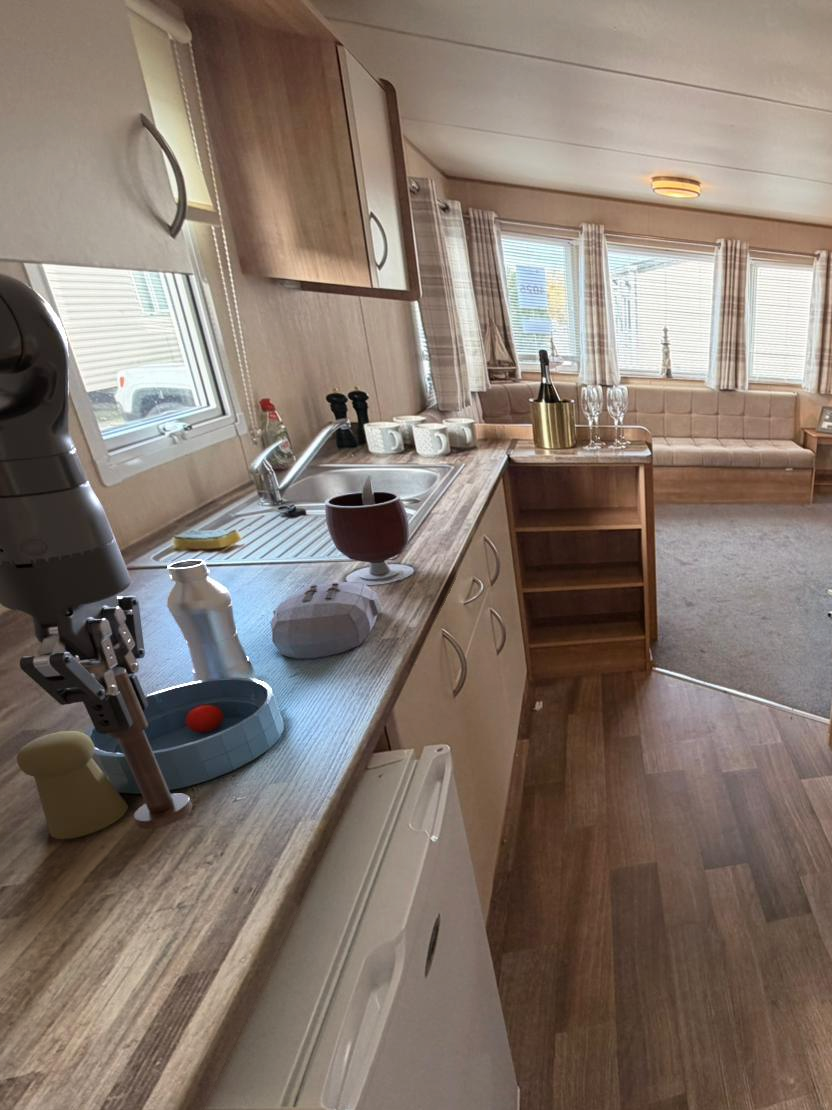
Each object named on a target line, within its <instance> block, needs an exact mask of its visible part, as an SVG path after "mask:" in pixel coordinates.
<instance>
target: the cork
mask: <svg viewBox="0 0 832 1110" xmlns="http://www.w3.org/2000/svg"><path fill="white" fill-rule="evenodd" d="M93 754H94V744H93V742H92V740H91V739H90V738H89V737H88V736H87V735H86V734H85V732H81V731H78V730H63V731H57V732H52V733H48V734H46V735H45V734H44V735H41V736H40V737H37V738H35V739H33V740H31V741H30V742H28V743H26V744H25V745H24V746H22V747H21V748H20V750H19V751H18V754H17V756H16V763H17V765H18V767H19V769H20V770H21V771H22V772H23V774H25V775H27V776H30V777H33V778H34V781H35V784H36V788H37V793H38V796H39V800H40V803H41V806H42V810H43V813H44V817H45V822H46V825H47V829H48V832H49V835H50V836H51V837H52V838H54V839H57V840H69V839H75V838H80V837H84V836H86V835H87V836H88V835H91V834H93V833H95V832H98V831H100V830H103V829H104V828H107V827H108V826H110V825H112V824H115V822H116V821H118V820H120V819H122V817H123V816H124V815H125V814H126V813H127V811H128V808H129V805H128V803H127V802H126V801H125V799H124V798H123V797H122V796H121V794H120V792H117V790H116V789H115V788H114V786H113V785H112V784H111V782H110V781H109V780H108V779H107V777H106V776H105V775H104V773H103V772H102V771H101V769H100V768H99V767H98V765H97V764H96V763H95V762H94V760H93V759H92V756H93Z"/></svg>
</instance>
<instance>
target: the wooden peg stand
mask: <svg viewBox="0 0 832 1110" xmlns="http://www.w3.org/2000/svg"><path fill="white" fill-rule="evenodd" d="M112 671H113V674H114V677H115V680H116V683H117V687H118V691H120V693H121V695H122V698H123V700H124V702H125V705H126V707H127V709H128V712H129V714H130V716H131V719H132V721H133V724H132V725H131V727H130V728H129V729H128V730H126V731H122V732H115V733H108V735H109V736H110V737H111V738H117V739H118V742H119V744H120V746H121V749H122V751H123V753H124V755H125V758H126V760H127V762H128V764H129V767H130V769H131V771H132V774H133V776H134V778H135V780H136V783H137V785H138V787H139V789H140V792H141V794H140V795H141V796H142V799H143V801H144V803H143V804H142V805H141V806H140V807H138V808H137V809H136V810H135V811H134V813H133V820H134V822H135V824H136V826H137V827H138V828H139V829H142V830H155V829H158V828H163V827H166V826H169V825H171V824H174V823H177V821H180V820H182V819H183V818H184V817H185V816H187V815H188V814H189V813H190V812H191V810H192V808H193V804H192V800H191V799H190V796H189V795H187V794H185V793H181V792H180V793H171V790H169V789H168V786H167V784H166V782H165V779H164V777H163V774H162V772H161V770H160V767H159V765H158V762H157V760H156V758H155V755H154V753H153V750H152V748H151V746H150V743H149V741H148V738H147V736H146V734H145V731H144V730H145V729H146V728H147V727H148V723H147V720H146V718H145V715H144V713H143V710H142V708H141V706H140V703H139V701H138V698H137V696H136V694H135V691H134V689H133V686H132V684H131V681H130V679H129V677H128V674H127V672H126V669H124V668H122V667H114V668H113V669H112ZM91 675H92V676H93V677H94V678H95V679H96V680H97V681H98V682H99V683H100V681H99V678H98V676H97V675H96V674H94V673H91Z"/></svg>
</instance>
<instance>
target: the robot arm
mask: <svg viewBox="0 0 832 1110" xmlns="http://www.w3.org/2000/svg"><path fill="white" fill-rule="evenodd" d="M131 583H132V579H131V576H130V573H129V570H128V568H127V566H126V563H125V560H124V557H123V555H122V553H121V550H120V547H119V545H118V541H117V539H116V537H115V534H114V532H113V529H112V527H111V524H110V521H109V519H108V516H107V514H106V511H105V509H104V507H103V505H102V503H101V502H100V499H99V498H98V496H97V495H96V493H95V491H94V489H93V488H92V485H91V483H90V482H89V479H88V476H87V474H86V471H85V469H84V466H83V463H82V460H81V458H80V455H79V452H78V450H77V449H76V445H75V443H74V440H73V438H72V435H71V430H70V395H69V346H68V341H67V336H66V333H65V330H64V327H63V326H62V323H61V320H60V318H59V317H58V316H57V314H56V312H55V311H54V310H53V308H52V307H51V305H50V304H49V303H48V302H47V301H46V300H45V299H44V298H43V297H42V296H41V295H40V294H39V293H38V292H37V291H35V290H34V289H33V288H32V287H31V286H29V285H28V284H26V283H24V282H22V280H20V279H18V278H15V277H13V276H10V275H8V274H6V273H2V272H0V605H1V606H2V607H4V608H7V609H9V610H12V611H19V612H22V613H25V614H28V615H30V616H31V617H32V622H33V628H34V636H35V638H36V640H37V641H38V642H39V643H40V645H39V646H40V647H39V649H38V651H37V654H35V655H26V656H25V655H24V656H22V657H21V658H20V660H19V667H20V669H21V671H23V672H24V673H25V674H26V675H27V676H28V677H30V678H31V679H32V680H33V682H35V683H36V684H37V685H38V686H39V687H40V688H41V689H43V690H44V691H45V692H46V693H47V694H48V695H49V696H51V697H52V698H53V700H55V702H57V703H58V704H59V705H61V706H65V705H71V704H76V703H83V705H84V707H85V709H86V711H87V714H88V716H89V718H90V720H91V723H92V725H94V727H95V729H96V731H97V732H98V733H100V734H108V733H115V732H122V731H126V730H128V729H129V728H130V727H131V725H132V724H133V721H132V719H131V716H130V714H129V712H128V709H127V707H126V705H125V702H124V700H123V698H122V695H121V693H120V691H118V687H117V683H116V680H115V677H114V674H113V671H112V669H113V668H114V667H122V668H124V669H126V672H127V674H128V677H129V679H130V681H131V684H132V686H133V689H134V691H135V694H136V696H137V698H138V701H139V703H140V706H141V708H142V710H143V711H144V710H145V709H146V707H147V706H148V702H147V700H146V697H145V696H146V695H145V693H144V690H143V688H142V685H141V683H140V681H139V678H138V676H137V673H139V670H140V665H139V663H138V661H137V660H139V659H144V657H145V655H146V651H145V643H144V634H143V627H142V626H143V625H142V620H141V619H142V618H141V611H140V602H139V599H138V597H137V596H136V595H128V596H127V595H126V596H117V595H119V594H121V593H122V592H124V591H126V590H127V589H128V588H129V587H130V585H131ZM82 661H83V662H82ZM91 673H94V674H96V675H97V676H98V678H99V681H100V683H99V682H98V681H97V680H96V679H95V678H94V677H93V676H92V675H91Z"/></svg>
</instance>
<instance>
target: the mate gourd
mask: <svg viewBox="0 0 832 1110" xmlns="http://www.w3.org/2000/svg"><path fill="white" fill-rule="evenodd" d="M372 483H373V482H372V476H371V475H366V478H365V480H364V482H363V485H362V491H355V492H348V493H343V494H338V495H334V496H331V497H328V498H327V499H325V500H324V504H325V508H324V513H325V521H326V525H327V529H328V533H329V536H330V538H331V540H332V542H333V545H334V546H335V548H336V550H337V551H339V552H340V553H341V554H342V555H344V556H345V557H347V558H348V560H349V559H350V560H351V561H358V562H362V563H363V562H364V563H370V564H369V566H367V567H364V568H360V569H357V570H355V571H353V572H351V573H349V574H348V575H347V576H346V578H345V582H359V583H364V584H365V585H367V586H377V585H378V586H379V585H385V584H390V583H395V582H398V581H402V580H404V579H407V578H408V577H410V576H411V575H413V573H414V572H415V570H414V567H412V566H410V565H405V564H398V563H397V564H396V563H393V564H392V563H391V564H388V563H387V562H386V561H387V560H389V559H392V558H394V557H396V556H398V555H400V554H401V553H403V551H404V550H405V548H406V547H407V544H408V543H409V540H410V539H409V537H410V523H409V519H408V514H407V511H406V508H405V505H404V502H403V500H402V499H401V495H400V494H399V493H397V492H393V491H386V490H385V491H384V490H374V486H373V484H372Z"/></svg>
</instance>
